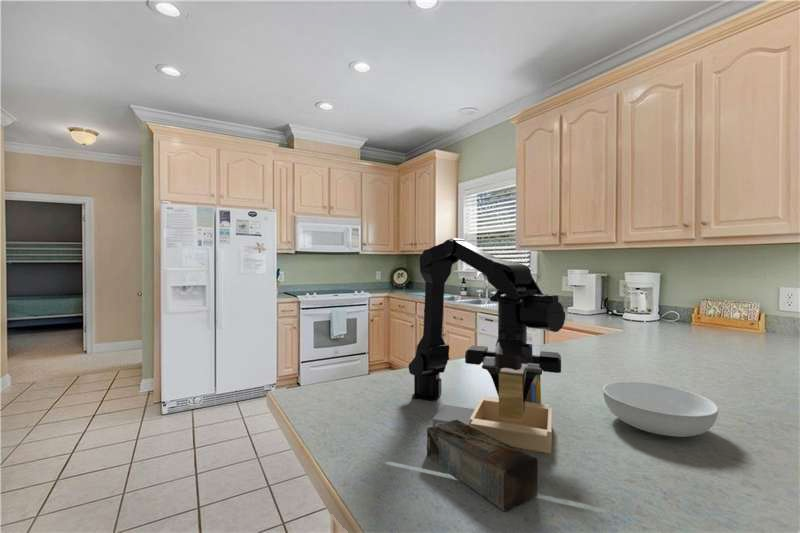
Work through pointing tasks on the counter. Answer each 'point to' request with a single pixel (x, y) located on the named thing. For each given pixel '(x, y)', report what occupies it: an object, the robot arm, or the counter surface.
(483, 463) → the beverage carton
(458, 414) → the trivet
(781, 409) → the counter surface
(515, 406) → the brown wooden block
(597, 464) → the counter surface
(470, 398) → the counter surface
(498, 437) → the wooden tray
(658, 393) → the serving bowl
